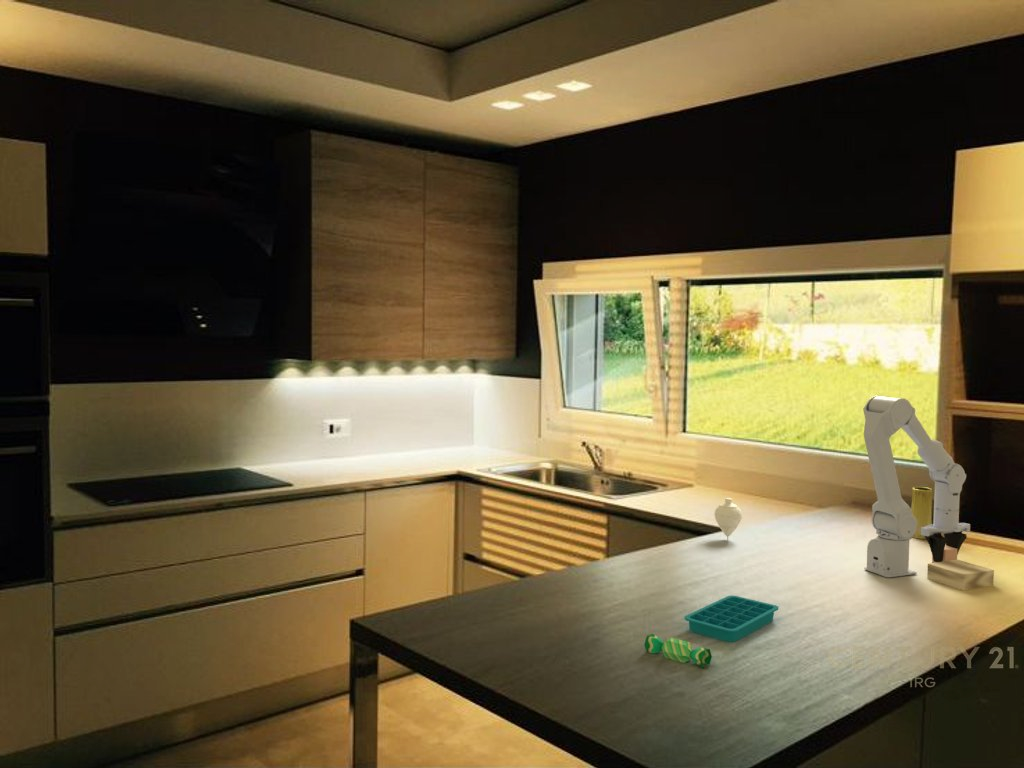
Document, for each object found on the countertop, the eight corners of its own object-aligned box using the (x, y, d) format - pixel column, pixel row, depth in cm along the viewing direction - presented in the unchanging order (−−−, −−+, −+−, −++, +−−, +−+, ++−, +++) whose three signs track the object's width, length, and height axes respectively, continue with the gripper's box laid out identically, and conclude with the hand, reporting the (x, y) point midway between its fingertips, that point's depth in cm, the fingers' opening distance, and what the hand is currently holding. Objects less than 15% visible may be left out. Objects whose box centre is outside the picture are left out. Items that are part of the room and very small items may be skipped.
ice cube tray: (681, 632, 173) (681, 617, 173) (730, 608, 188) (730, 594, 187) (733, 647, 165) (733, 631, 165) (780, 620, 180) (781, 606, 180)
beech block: (962, 591, 200) (963, 574, 199) (927, 579, 209) (927, 563, 208) (993, 586, 203) (993, 570, 203) (956, 575, 213) (957, 559, 212)
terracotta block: (944, 569, 216) (945, 550, 216) (932, 565, 220) (932, 546, 220) (956, 568, 218) (957, 548, 217) (943, 563, 221) (944, 544, 221)
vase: (927, 534, 252) (929, 486, 251) (935, 539, 246) (937, 490, 245) (905, 533, 253) (907, 486, 252) (913, 539, 247) (915, 490, 246)
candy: (642, 650, 160) (648, 629, 162) (650, 655, 163) (656, 635, 164) (700, 667, 153) (706, 645, 154) (707, 672, 155) (713, 650, 156)
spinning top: (708, 538, 248) (709, 497, 247) (729, 535, 251) (730, 494, 250) (725, 544, 241) (726, 502, 240) (747, 541, 244) (748, 499, 243)
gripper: (937, 514, 211) (935, 568, 212) (981, 509, 216) (979, 562, 217) (914, 508, 218) (913, 560, 219) (957, 504, 223) (955, 555, 224)
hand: (944, 561), depth 219 cm, fingers closed on terracotta block, 4 cm apart
